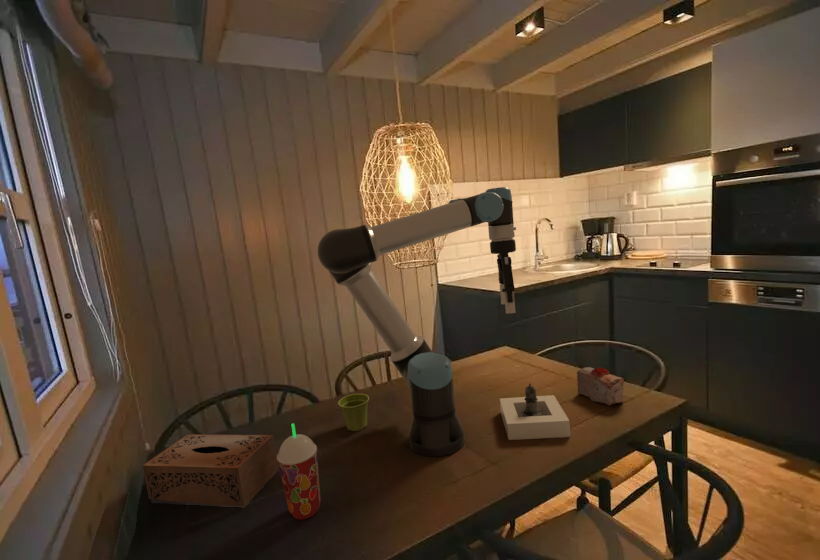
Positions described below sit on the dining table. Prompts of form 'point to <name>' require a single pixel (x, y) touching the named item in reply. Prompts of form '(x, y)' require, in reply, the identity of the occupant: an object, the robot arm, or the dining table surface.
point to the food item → (600, 385)
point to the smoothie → (300, 475)
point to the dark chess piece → (531, 403)
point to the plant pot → (354, 411)
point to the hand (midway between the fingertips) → (508, 308)
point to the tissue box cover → (212, 469)
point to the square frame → (534, 419)
